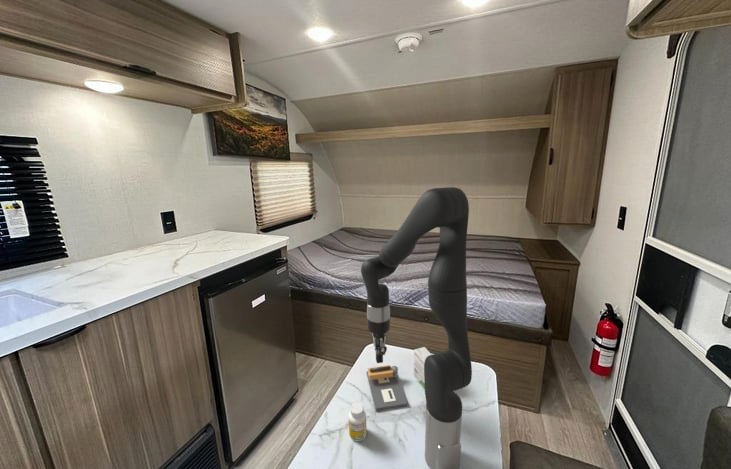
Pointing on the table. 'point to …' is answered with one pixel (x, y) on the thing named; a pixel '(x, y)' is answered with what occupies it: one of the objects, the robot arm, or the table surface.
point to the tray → (387, 393)
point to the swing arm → (382, 372)
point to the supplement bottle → (357, 422)
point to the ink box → (420, 364)
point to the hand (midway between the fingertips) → (379, 361)
